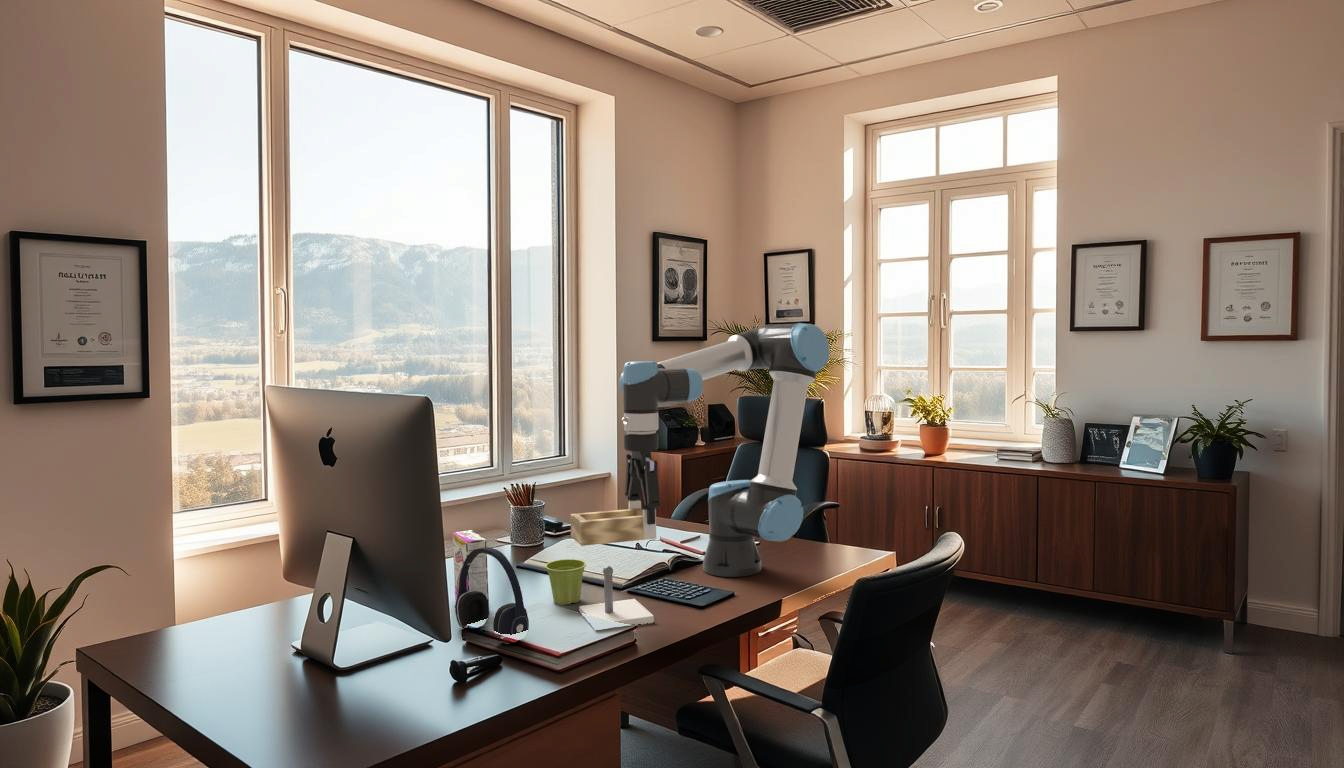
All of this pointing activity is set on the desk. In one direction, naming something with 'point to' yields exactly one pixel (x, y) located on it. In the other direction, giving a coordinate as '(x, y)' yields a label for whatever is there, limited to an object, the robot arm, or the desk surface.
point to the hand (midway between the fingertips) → (642, 533)
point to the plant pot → (566, 580)
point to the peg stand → (617, 606)
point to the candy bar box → (478, 568)
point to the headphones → (476, 604)
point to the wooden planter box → (607, 526)
